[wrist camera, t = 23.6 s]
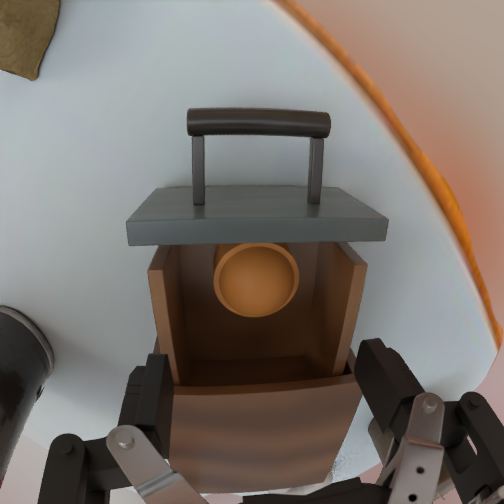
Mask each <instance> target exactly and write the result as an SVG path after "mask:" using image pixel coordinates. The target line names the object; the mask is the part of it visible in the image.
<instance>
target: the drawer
mask: <svg viewBox="0 0 504 504" xmlns="http://www.w3.org/2000/svg"><path fill="white" fill-rule="evenodd" d="M330 129H331V120H330V116H329V114H328V113H327V112H317V111H306V110H291V109H272V108H190V109H188V112H187V132H188V135H189V136H192V180H193V187H178V188H157V189H155V190H154V192H153V193H152V194H151V195H150V196H149V197H148V198H147V199H146V200H145V201H144V202H143V203H142V204H141V206H140V207H139V208H138V209H137V210H136V211H135V212H134V213H133V214H132V216H131V217H130V218H129V219H128V220H127V221H126V228H127V237H128V244H129V246H146V245H159V246H158V248H157V250H156V252H155V254H154V257H153V259H152V261H151V263H150V266H149V268H148V270H147V273H148V280H149V287H150V293H151V300H152V306H153V312H154V318H155V324H156V329H157V335H158V340H159V345H160V350H161V354H168V357H169V362H170V367H171V372H172V377H173V382H174V386H231V385H252V384H268V383H281V382H292V381H302V380H311V379H319V378H327V377H335V376H342V375H343V371H344V368H345V364H346V360H347V357H348V353H349V349H350V345H351V341H352V337H353V333H354V328H355V324H356V320H357V315H358V311H359V306H360V302H361V297H362V292H363V287H364V282H365V276H366V271H367V266H368V265H367V263H366V262H365V261H364V260H363V259H362V258H361V257H360V256H359V255H358V254H357V253H356V252H355V251H354V250H353V249H352V247H351V246H350V245H349V244H348V243H347V242H354V241H385V240H386V234H387V228H388V221H389V219H388V218H386V217H385V216H383V215H382V214H380V213H378V212H377V211H375V210H374V209H372V208H371V207H369V206H367V205H366V204H364V203H363V202H361V201H359V200H358V199H356V198H354V197H353V196H351V195H350V194H348V193H346V192H345V191H343V190H341V189H340V188H332V187H321V183H322V168H323V151H324V139H323V138H327V137H328V136H329V133H330ZM203 135H269V136H294V137H311V138H310V157H309V176H308V187H297V186H213V187H205V137H204V136H203ZM232 243H286V244H287V246H288V248H289V249H290V251H291V253H292V255H293V257H294V259H295V261H296V263H297V265H298V269H299V284H298V288H297V290H296V292H295V295H294V296H293V298H292V299H291V300H290V301H289V303H288V304H287V305H285V306H284V307H283V308H282V309H280V310H278V311H277V312H275V313H272V314H270V315H267V316H262V317H246V316H242V315H238V314H236V313H234V312H232V311H230V310H229V309H227V308H226V307H225V306H224V305H223V304H222V303H221V302H220V300H219V299H218V297H217V295H216V293H215V290H214V285H213V272H214V255H215V252H216V249H217V247H218V245H219V244H232Z"/></svg>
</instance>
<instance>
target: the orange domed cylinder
mask: <svg viewBox="0 0 504 504" xmlns="http://www.w3.org/2000/svg"><path fill="white" fill-rule="evenodd" d="M298 284H299V269H298V265H297V263H296V261H295V259H294V257H293V255H292V253H291V251H290V249H289V248H288V246H287V244H286V243H232V244H219V245H218V247H217V249H216V252H215V255H214V272H213V285H214V290H215V293H216V295H217V297H218V299H219V300H220V302H221V303H222V304H223V305H224V306H225V307H226V308H227V309H229V310H230V311H232V312H234V313H236V314H238V315H242V316H246V317H262V316H267V315H270V314H272V313H275V312H277V311H278V310H280V309H282V308H283V307H284V306H285V305H287V304H288V303H289V301H290V300H291V299H292V298H293V296H294V295H295V292H296V290H297V288H298Z"/></svg>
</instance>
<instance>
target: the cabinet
mask: <svg viewBox="0 0 504 504" xmlns="http://www.w3.org/2000/svg"><path fill="white" fill-rule="evenodd" d="M153 354H161V350H160V345H159V340H158V335H157V338H156V343H155V347H154V351H153ZM355 362H356V357H355V355H354V353H353V351H352V350H351V348H350V349H349V353H348V357H347V360H346V364H345V368H344V371H343V375H342V376H335V377H327V378H319V379H311V380H302V381H292V382H281V383H268V384H252V385H231V386H174V399H173V411H172V423H171V436H170V451H169V459H168V462H169V464H170V466H171V468H172V469H173V470H174V471H177V472H179V473H180V474H181V475H182V476H183V477H184V478H185V479H186V481H187V482H188V483H189V484H190V485H191V486H192V487H193V488H194V489H195V490H196V491H197V492H198V493H242V492H257V491H268V490H278V489H286V488H294V487H300V486H307V485H313V484H319V483H324V481H325V479H326V477H327V475H328V473H329V471H330V469H331V467H332V465H333V463H334V461H335V459H336V456H337V454H338V452H339V450H340V448H341V446H342V443H343V441H344V439H345V436H346V434H347V432H348V429H349V427H350V425H351V422H352V420H353V417H354V415H355V412H356V410H357V407H358V405H359V402H360V400H361V397H362V394H363V393H362V391H361V389H360V387H359V385H358V383H357V381H356V379H355V376H354V365H355Z"/></svg>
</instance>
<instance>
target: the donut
mask: <svg viewBox="0 0 504 504" xmlns="http://www.w3.org/2000/svg"><path fill="white" fill-rule="evenodd" d="M332 479H333V477H332V472H331V470H330V471H329V473H328V475H327V477H326V479H325V481H324V483H319V484H313V485H307V486H300V487H294V488H286V489H278V490H268V492H269V493H270V494H271V493H276V494H289V495H307V494H309V493H312V492H314V491H316V490H319V489H321V488H323V487H325V486H328V485H330V483H331V482H332Z"/></svg>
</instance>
